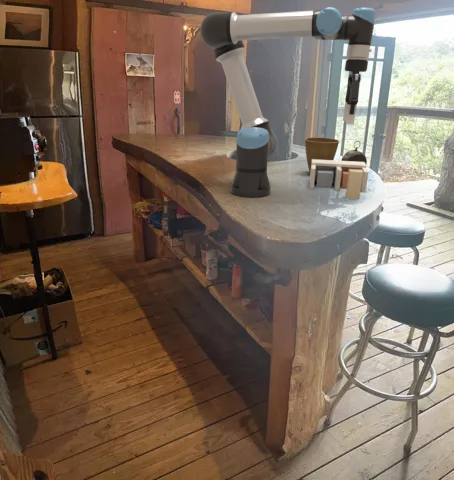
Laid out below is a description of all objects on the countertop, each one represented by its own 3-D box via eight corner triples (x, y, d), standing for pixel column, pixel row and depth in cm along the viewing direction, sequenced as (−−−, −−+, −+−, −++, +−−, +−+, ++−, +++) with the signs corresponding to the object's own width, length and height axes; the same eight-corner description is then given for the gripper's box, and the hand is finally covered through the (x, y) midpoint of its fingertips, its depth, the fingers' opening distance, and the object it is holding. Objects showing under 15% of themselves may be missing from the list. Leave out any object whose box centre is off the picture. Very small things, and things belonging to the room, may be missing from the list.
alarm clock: (359, 175, 185) (364, 139, 179) (366, 178, 180) (371, 141, 174) (338, 176, 183) (342, 140, 177) (344, 179, 178) (349, 141, 172)
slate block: (316, 186, 164) (318, 172, 162) (316, 183, 170) (317, 169, 167) (331, 187, 163) (333, 173, 161) (331, 184, 169) (332, 170, 166)
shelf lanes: (309, 188, 161) (311, 166, 158) (309, 179, 175) (311, 159, 172) (365, 192, 157) (369, 169, 154) (361, 183, 171) (364, 161, 168)
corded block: (344, 198, 148) (347, 171, 145) (340, 184, 168) (343, 160, 164) (361, 199, 147) (365, 172, 144) (355, 185, 167) (359, 161, 163)
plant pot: (295, 174, 185) (298, 139, 179) (313, 170, 195) (316, 136, 189) (324, 180, 175) (328, 143, 169) (340, 175, 185) (345, 139, 179)
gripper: (373, 57, 128) (362, 126, 136) (363, 61, 151) (354, 119, 159) (349, 56, 129) (339, 125, 137) (343, 60, 152) (335, 118, 160)
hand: (347, 122), depth 148 cm, fingers open, 13 cm apart
